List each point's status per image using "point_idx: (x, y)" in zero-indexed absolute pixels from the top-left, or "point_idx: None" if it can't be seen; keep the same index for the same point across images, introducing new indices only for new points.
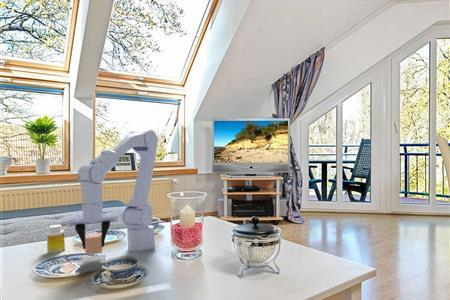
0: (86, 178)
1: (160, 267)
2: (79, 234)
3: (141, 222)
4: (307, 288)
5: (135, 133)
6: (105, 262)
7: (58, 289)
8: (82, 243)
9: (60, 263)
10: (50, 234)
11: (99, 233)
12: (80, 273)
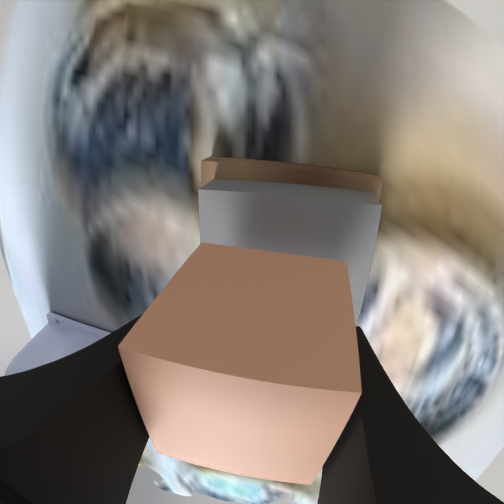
0: None
1: (17, 144)
2: (441, 460)
3: None
4: None
5: None
6: (200, 189)
7: (472, 82)
8: (379, 364)
9: (411, 399)
10: None
11: (172, 450)
12: (374, 179)
